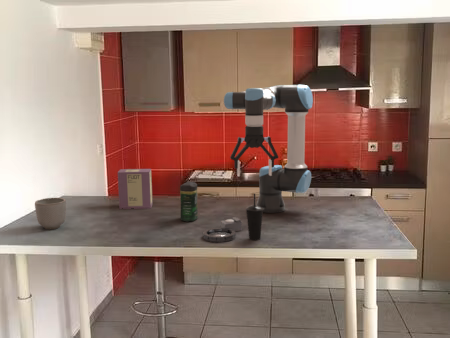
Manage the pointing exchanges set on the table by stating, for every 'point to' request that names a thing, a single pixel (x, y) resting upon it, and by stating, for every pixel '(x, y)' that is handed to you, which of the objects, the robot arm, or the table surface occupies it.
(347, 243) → the table surface
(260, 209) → the drinking cup
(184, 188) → the coffee jar
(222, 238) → the plate
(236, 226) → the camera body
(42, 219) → the planter
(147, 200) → the box
